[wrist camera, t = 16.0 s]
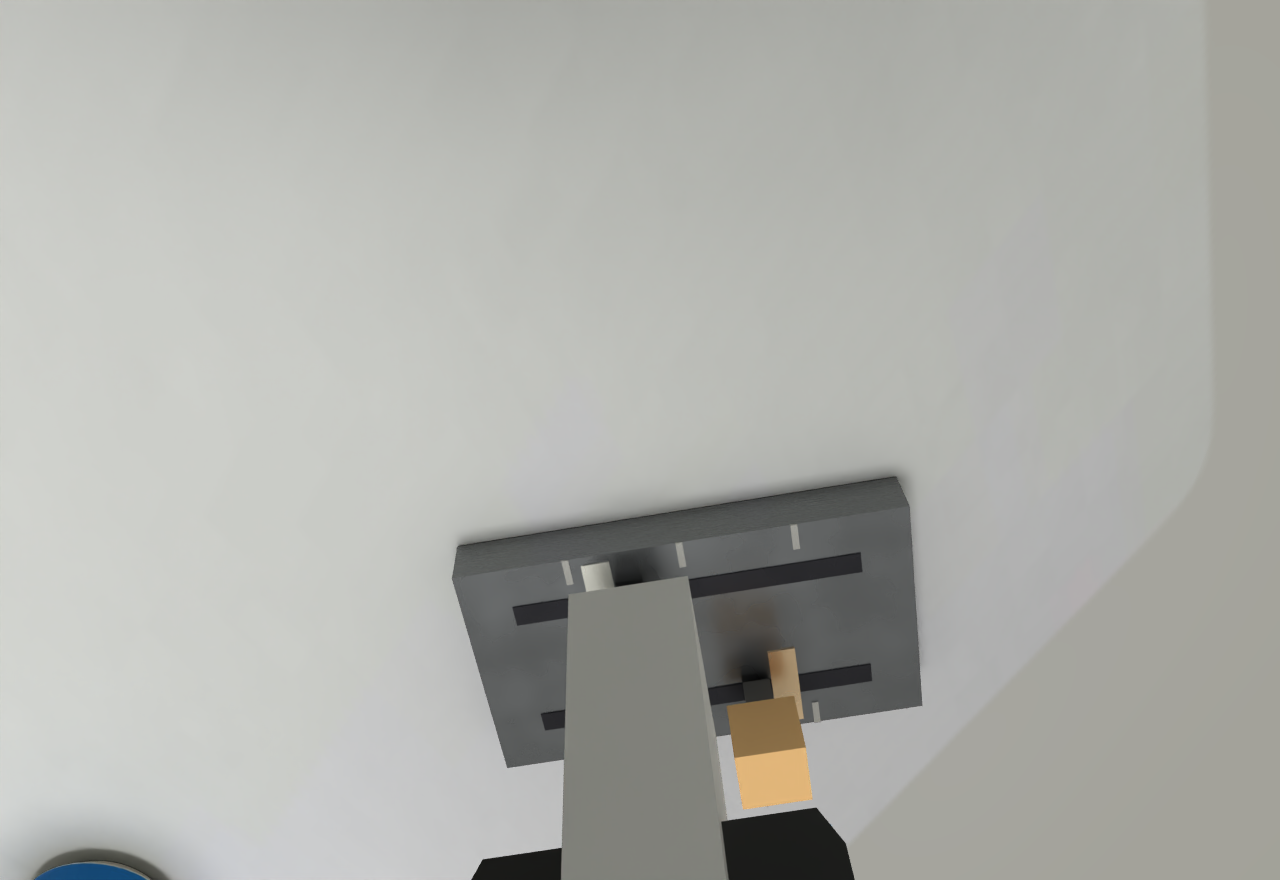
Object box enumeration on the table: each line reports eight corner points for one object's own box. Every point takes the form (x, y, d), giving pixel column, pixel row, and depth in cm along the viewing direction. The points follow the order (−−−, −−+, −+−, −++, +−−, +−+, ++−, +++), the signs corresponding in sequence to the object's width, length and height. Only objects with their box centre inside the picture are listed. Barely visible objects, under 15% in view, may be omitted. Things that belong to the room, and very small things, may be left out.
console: (510, 732, 47) (507, 769, 46) (457, 546, 43) (451, 579, 41) (909, 671, 47) (922, 706, 45) (896, 476, 42) (909, 507, 41)
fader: (729, 721, 45) (743, 809, 41) (721, 672, 44) (734, 758, 40) (793, 712, 45) (812, 799, 41) (786, 662, 44) (805, 747, 40)
